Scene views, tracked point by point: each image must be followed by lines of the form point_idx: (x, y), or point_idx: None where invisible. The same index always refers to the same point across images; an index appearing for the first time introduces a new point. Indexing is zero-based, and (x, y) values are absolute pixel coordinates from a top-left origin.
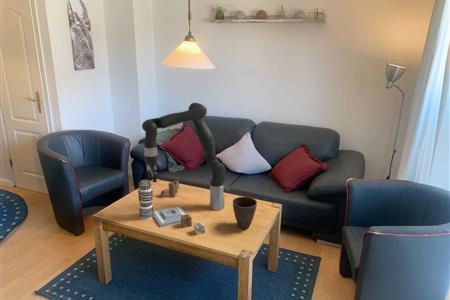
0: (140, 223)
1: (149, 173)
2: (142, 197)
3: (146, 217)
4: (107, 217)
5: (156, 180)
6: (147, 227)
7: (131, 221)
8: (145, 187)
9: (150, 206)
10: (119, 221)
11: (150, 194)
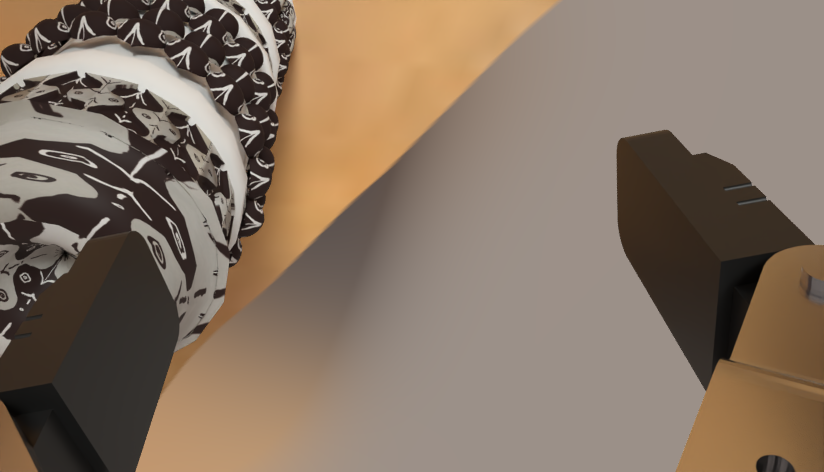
0: (370, 98)
1: (124, 405)
2: (248, 185)
3: (294, 32)
4: (176, 355)
5: (680, 146)
6: (480, 37)
7: (302, 177)
8: (226, 232)
9: (252, 9)
10: (276, 272)
11: (214, 63)
